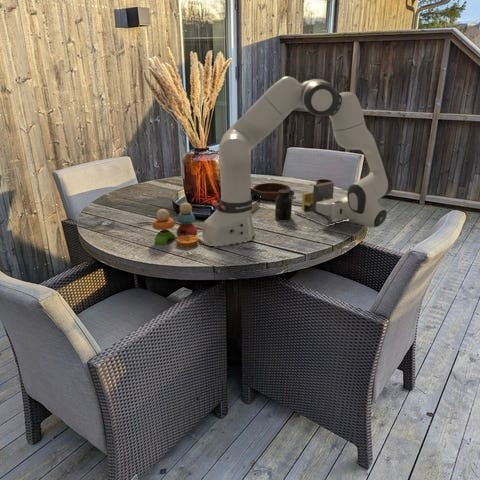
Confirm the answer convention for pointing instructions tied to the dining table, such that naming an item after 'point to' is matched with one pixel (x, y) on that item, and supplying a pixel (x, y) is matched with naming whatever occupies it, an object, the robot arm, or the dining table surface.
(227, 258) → the dining table surface
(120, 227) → the dining table surface
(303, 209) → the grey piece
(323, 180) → the mug
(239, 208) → the robot arm
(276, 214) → the supplement bottle
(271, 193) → the dish
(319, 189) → the gray rectangular block
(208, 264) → the dining table surface
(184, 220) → the wooden stacking toy
